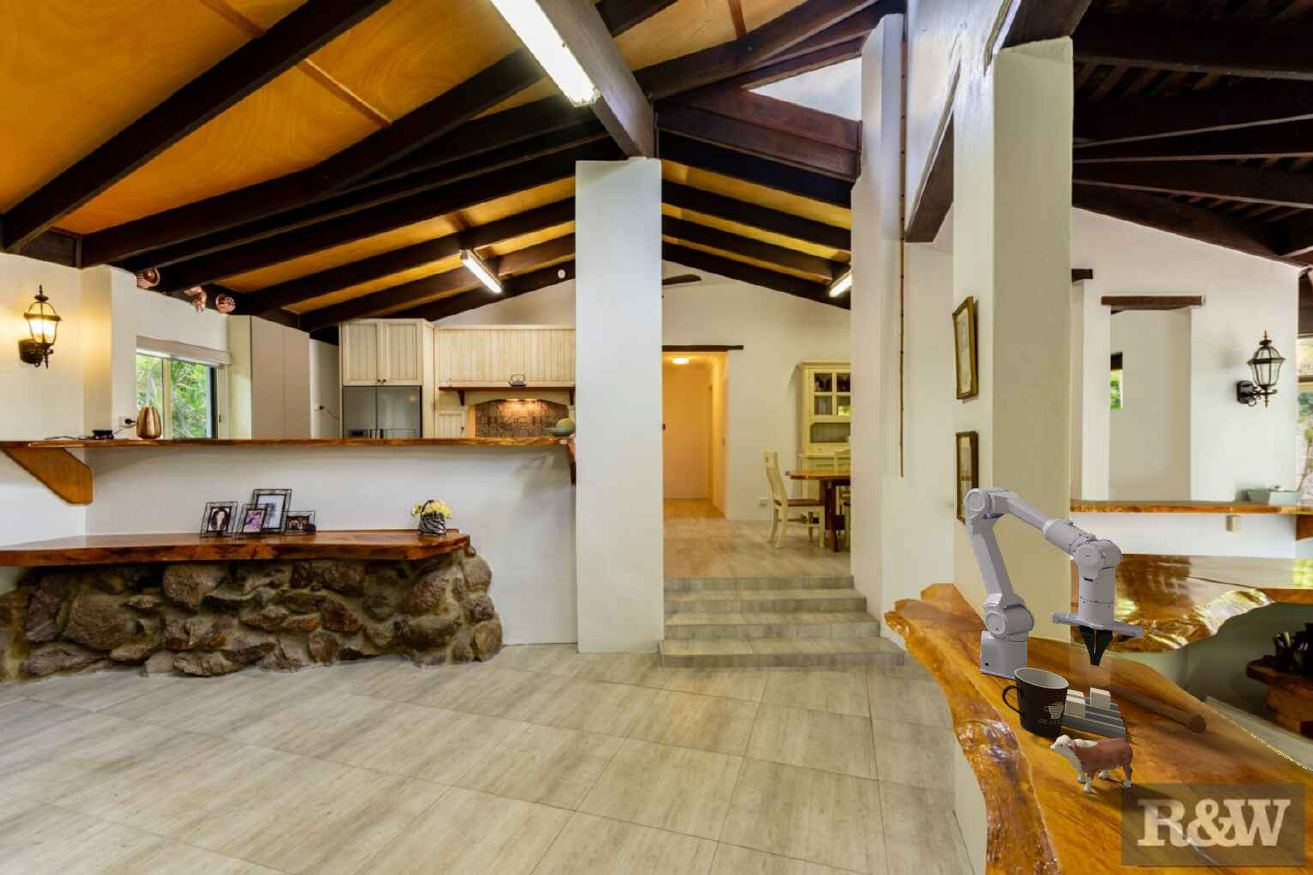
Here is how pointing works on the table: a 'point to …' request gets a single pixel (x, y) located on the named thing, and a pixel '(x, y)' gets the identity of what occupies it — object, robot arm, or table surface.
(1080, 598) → the robot arm
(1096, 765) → the bull figurine
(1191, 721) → the primitive tool
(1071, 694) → the tab
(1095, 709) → the switch board
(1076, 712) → the tab
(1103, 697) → the tab
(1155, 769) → the table surface
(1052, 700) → the coffee mug
